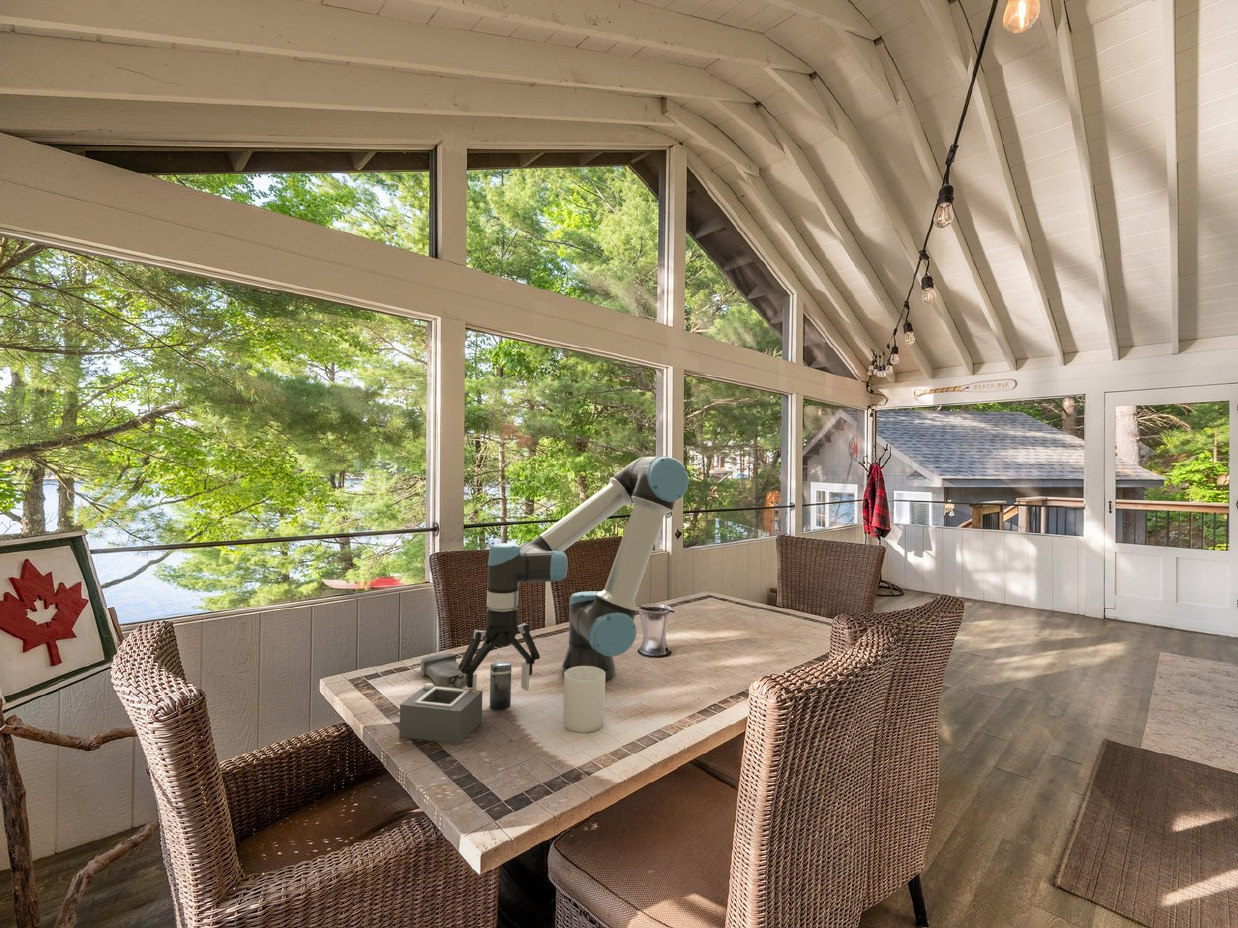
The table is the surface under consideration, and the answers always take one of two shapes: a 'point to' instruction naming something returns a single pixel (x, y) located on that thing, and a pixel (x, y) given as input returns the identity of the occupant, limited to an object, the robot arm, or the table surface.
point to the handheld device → (443, 670)
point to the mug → (584, 698)
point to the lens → (500, 685)
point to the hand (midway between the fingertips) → (499, 694)
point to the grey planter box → (441, 714)
